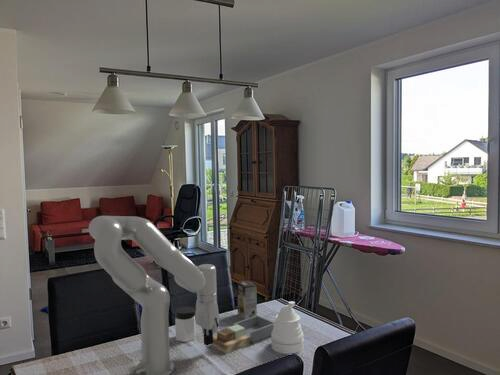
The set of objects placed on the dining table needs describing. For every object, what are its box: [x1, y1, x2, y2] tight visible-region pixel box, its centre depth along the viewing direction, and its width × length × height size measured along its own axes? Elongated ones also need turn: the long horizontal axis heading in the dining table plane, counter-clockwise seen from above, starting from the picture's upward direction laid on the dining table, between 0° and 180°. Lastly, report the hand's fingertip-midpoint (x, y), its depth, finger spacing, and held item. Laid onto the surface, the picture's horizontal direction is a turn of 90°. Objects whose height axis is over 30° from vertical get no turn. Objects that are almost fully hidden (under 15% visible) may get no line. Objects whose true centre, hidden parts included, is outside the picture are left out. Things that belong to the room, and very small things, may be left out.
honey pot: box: [270, 300, 305, 355], centre depth 157 cm, size 13×13×18 cm
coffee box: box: [236, 279, 258, 320], centre depth 189 cm, size 9×6×16 cm
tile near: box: [216, 327, 235, 343], centre depth 158 cm, size 5×5×3 cm
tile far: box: [227, 324, 245, 339], centre depth 162 cm, size 5×5×3 cm
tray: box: [232, 314, 275, 345], centre depth 168 cm, size 14×12×5 cm
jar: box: [174, 306, 197, 343], centre depth 167 cm, size 9×8×12 cm
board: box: [211, 334, 251, 354], centre depth 160 cm, size 12×10×3 cm
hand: (208, 343), depth 153 cm, fingers closed
